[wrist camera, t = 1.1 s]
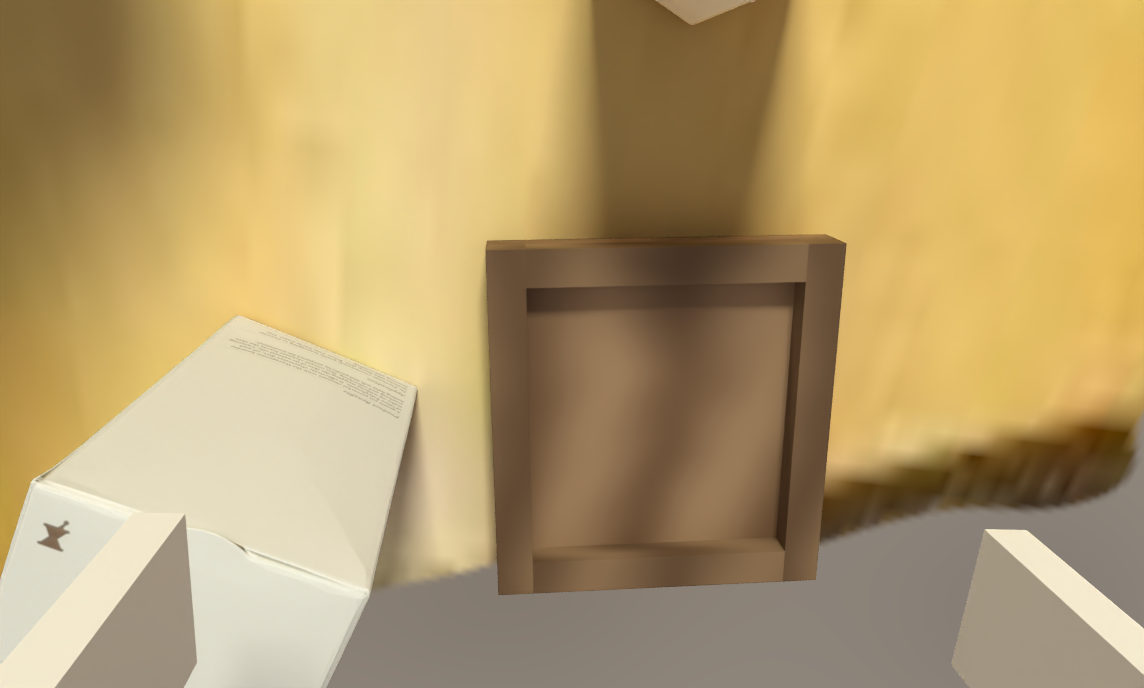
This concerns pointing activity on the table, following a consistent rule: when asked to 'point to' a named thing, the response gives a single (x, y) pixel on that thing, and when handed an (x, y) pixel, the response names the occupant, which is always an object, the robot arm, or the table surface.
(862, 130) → the table surface
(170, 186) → the table surface
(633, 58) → the table surface
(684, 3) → the jar
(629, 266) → the brown wooden tray
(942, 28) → the table surface
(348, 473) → the skincare box
